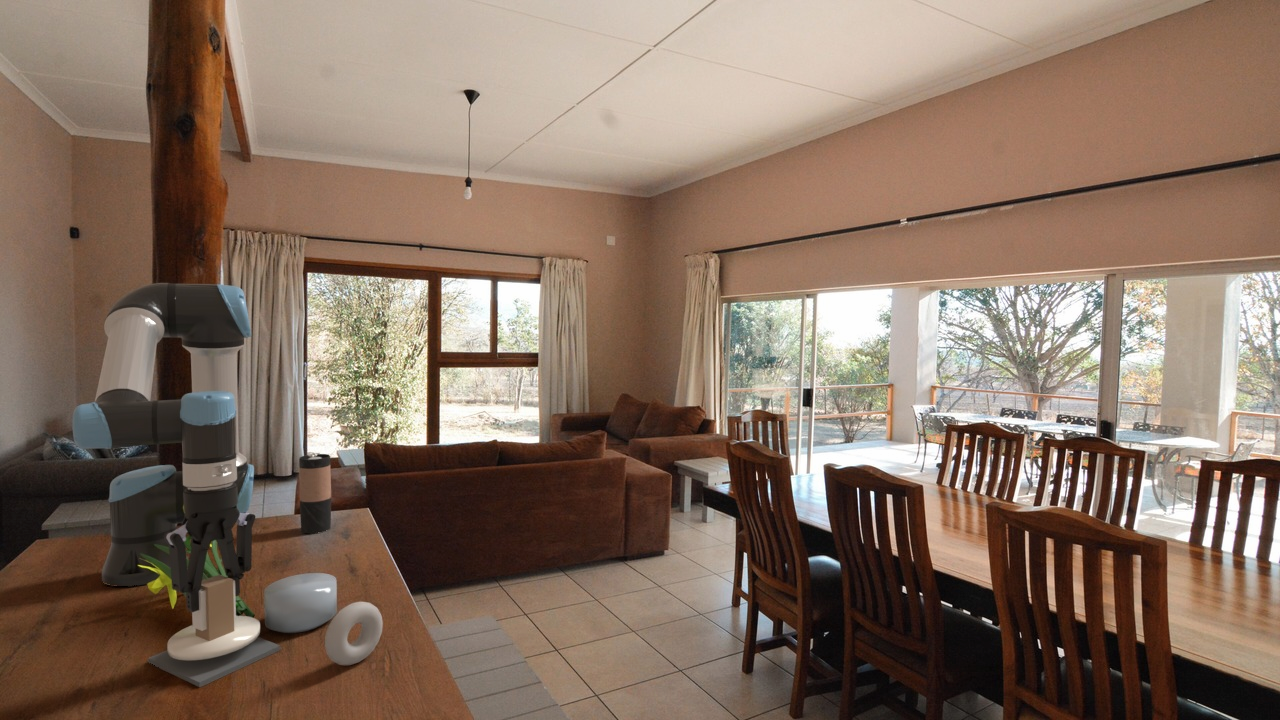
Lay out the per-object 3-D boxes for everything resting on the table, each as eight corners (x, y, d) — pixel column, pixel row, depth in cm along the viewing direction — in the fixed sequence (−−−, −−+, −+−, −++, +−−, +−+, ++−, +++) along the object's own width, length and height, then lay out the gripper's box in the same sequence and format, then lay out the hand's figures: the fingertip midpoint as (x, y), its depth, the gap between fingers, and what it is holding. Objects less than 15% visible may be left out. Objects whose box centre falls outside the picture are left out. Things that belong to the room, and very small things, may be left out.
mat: (148, 662, 106) (147, 658, 106) (229, 629, 118) (228, 625, 118) (199, 687, 100) (199, 682, 99) (280, 650, 111) (280, 645, 111)
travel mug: (318, 535, 170) (317, 460, 169) (293, 533, 172) (292, 458, 171) (337, 526, 178) (336, 454, 177) (313, 524, 179) (312, 453, 178)
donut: (374, 646, 113) (374, 590, 112) (387, 652, 111) (386, 595, 110) (320, 672, 104) (319, 612, 104) (333, 679, 102) (332, 617, 102)
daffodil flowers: (162, 657, 108) (105, 561, 129) (241, 666, 120) (177, 576, 140) (227, 565, 113) (162, 486, 133) (297, 582, 124) (227, 507, 144)
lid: (150, 647, 106) (148, 587, 105) (232, 616, 117) (230, 561, 117) (195, 668, 100) (193, 603, 99) (276, 632, 111) (275, 575, 111)
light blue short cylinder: (250, 627, 119) (249, 590, 119) (310, 602, 130) (309, 568, 129) (292, 643, 113) (291, 604, 113) (350, 615, 124) (350, 580, 124)
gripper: (165, 500, 98) (170, 650, 99) (274, 477, 113) (277, 607, 114) (139, 493, 101) (144, 638, 103) (248, 472, 116) (251, 598, 118)
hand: (214, 622), depth 108 cm, fingers closed on lid, 4 cm apart
